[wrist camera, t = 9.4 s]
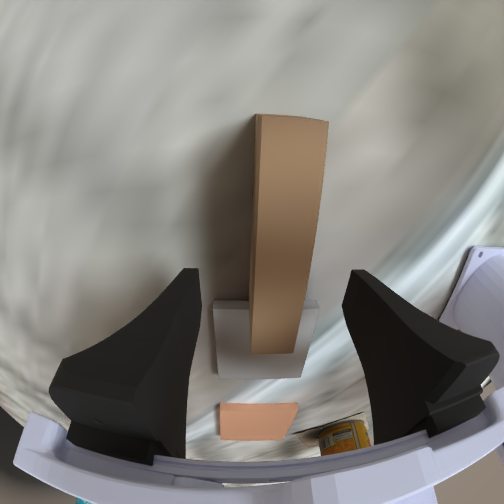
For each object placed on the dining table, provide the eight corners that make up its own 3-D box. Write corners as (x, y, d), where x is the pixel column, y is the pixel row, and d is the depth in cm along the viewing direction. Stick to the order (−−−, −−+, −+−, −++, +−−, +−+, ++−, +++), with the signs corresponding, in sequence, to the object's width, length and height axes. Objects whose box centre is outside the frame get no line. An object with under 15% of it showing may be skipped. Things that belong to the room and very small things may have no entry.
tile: (298, 409, 21) (283, 439, 25) (296, 398, 23) (282, 430, 26) (219, 410, 21) (220, 439, 25) (220, 398, 22) (220, 430, 26)
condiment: (368, 427, 28) (387, 503, 18) (308, 446, 29) (318, 521, 19) (364, 410, 25) (388, 502, 14) (293, 431, 26) (303, 523, 16)
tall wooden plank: (208, 113, 11) (193, 115, 7) (344, 122, 11) (385, 131, 7) (219, 370, 19) (217, 416, 16) (299, 369, 19) (306, 413, 16)
